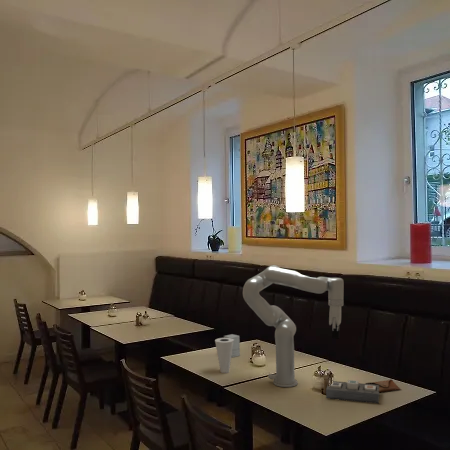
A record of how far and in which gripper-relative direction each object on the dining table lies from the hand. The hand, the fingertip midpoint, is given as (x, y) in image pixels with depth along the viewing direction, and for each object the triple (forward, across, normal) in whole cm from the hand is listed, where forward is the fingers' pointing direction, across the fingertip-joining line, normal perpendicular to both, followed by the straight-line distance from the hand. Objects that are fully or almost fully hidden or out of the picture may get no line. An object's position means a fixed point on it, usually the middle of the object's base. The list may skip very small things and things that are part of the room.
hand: (335, 338), depth 256 cm
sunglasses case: (+25, -4, +23) cm, 34 cm away
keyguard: (+25, +10, +10) cm, 29 cm away
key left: (+24, +11, +2) cm, 26 cm away
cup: (+26, -7, -63) cm, 69 cm away
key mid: (+22, +10, +10) cm, 26 cm away
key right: (+24, +10, +18) cm, 31 cm away
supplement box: (+27, -39, -71) cm, 85 cm away
